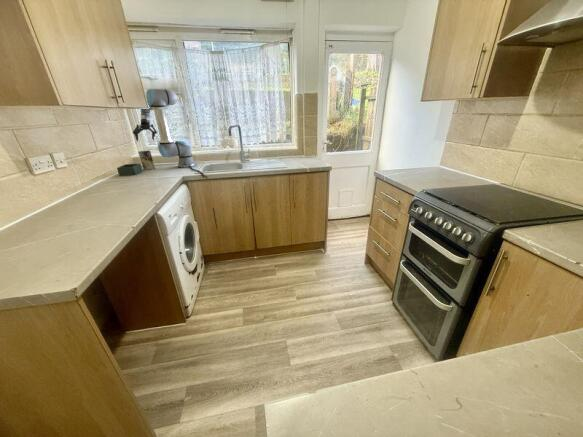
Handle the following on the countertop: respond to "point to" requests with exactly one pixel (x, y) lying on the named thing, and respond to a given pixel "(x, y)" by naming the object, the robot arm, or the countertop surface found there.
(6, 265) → the countertop surface
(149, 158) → the coffee box
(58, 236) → the countertop surface
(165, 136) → the robot arm
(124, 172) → the tote
